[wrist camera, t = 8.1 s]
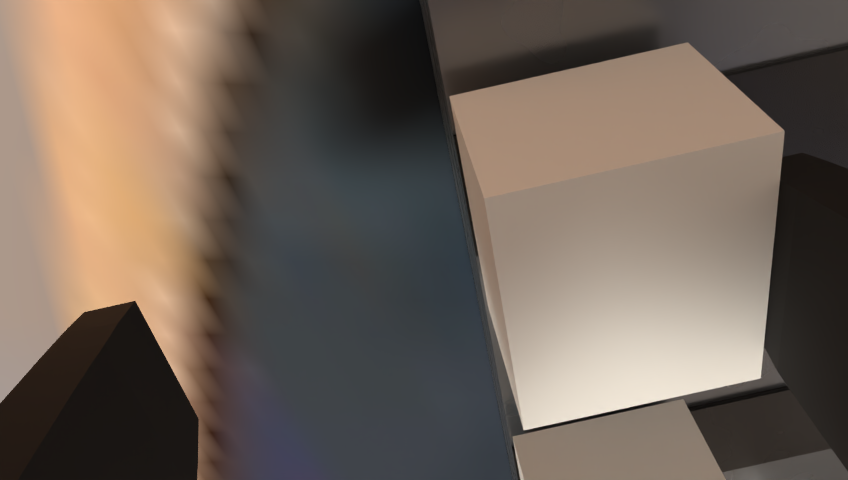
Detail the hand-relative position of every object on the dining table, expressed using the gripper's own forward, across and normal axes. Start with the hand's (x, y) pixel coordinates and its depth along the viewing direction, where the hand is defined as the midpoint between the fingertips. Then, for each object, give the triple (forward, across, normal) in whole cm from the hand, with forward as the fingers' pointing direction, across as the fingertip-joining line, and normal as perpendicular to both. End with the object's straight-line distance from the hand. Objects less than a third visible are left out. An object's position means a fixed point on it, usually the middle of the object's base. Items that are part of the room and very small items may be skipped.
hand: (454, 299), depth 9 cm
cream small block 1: (+2, -2, 0) cm, 3 cm away
